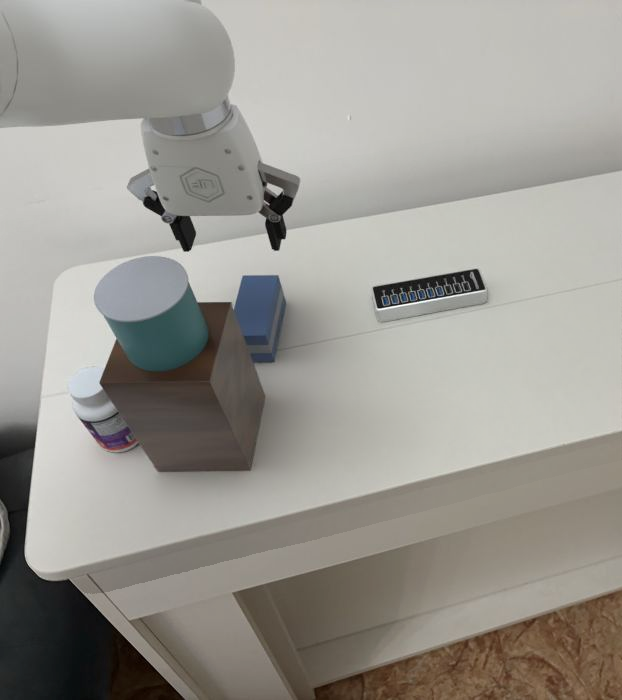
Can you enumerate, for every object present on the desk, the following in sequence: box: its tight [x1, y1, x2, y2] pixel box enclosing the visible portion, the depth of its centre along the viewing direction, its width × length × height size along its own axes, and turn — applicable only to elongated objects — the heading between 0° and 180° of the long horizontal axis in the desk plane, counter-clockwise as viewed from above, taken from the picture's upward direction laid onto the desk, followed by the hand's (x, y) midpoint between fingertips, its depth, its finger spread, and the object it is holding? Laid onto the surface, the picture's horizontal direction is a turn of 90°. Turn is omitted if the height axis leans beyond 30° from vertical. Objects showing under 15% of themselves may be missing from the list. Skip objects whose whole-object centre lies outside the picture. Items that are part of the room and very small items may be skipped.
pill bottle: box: [67, 366, 139, 453], centre depth 76 cm, size 5×5×10 cm
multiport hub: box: [370, 267, 488, 323], centre depth 92 cm, size 4×14×2 cm, turn 104°
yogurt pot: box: [93, 255, 209, 372], centre depth 65 cm, size 8×8×7 cm
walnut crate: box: [99, 301, 266, 473], centre depth 74 cm, size 10×10×16 cm
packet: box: [233, 274, 287, 363], centre depth 87 cm, size 10×4×5 cm, turn 1°
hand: (234, 242), depth 78 cm, fingers open, 9 cm apart
